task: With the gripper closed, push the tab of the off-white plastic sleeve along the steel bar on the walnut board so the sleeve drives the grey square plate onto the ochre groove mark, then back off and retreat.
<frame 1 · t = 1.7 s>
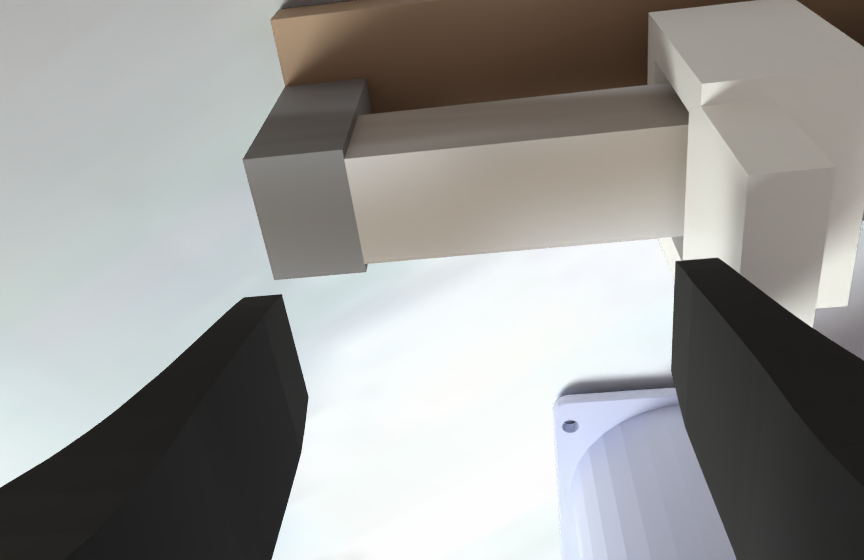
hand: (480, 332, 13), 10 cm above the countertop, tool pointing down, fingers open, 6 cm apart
sleeve: (763, 179, 16), point 6 cm above the countertop, slide at 0.0 cm
pipe board: (798, 74, 20), on the countertop
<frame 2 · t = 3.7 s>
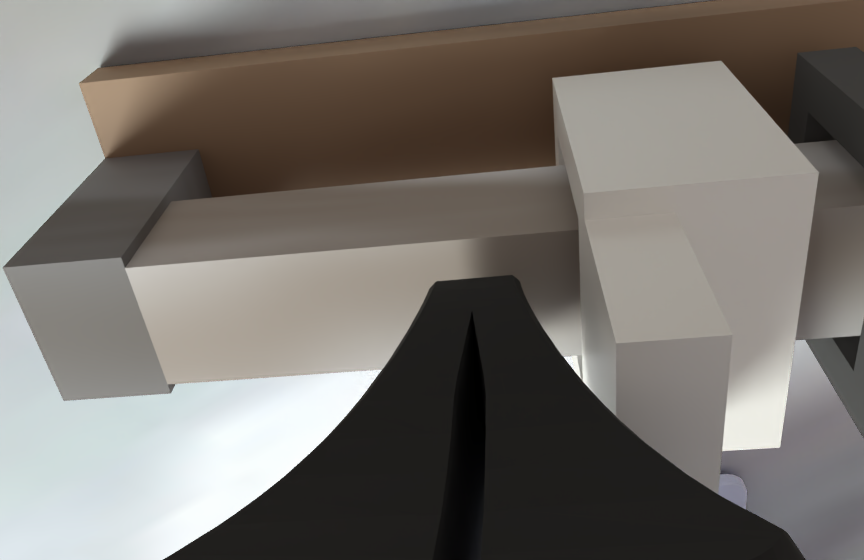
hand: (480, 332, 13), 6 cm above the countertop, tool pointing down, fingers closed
sleeve: (676, 295, 13), point 6 cm above the countertop, slide at 0.7 cm, touching gripper
pipe board: (706, 145, 17), on the countertop
grey square plate: (860, 233, 14), point 4 cm above the countertop, slide at 0.0 cm
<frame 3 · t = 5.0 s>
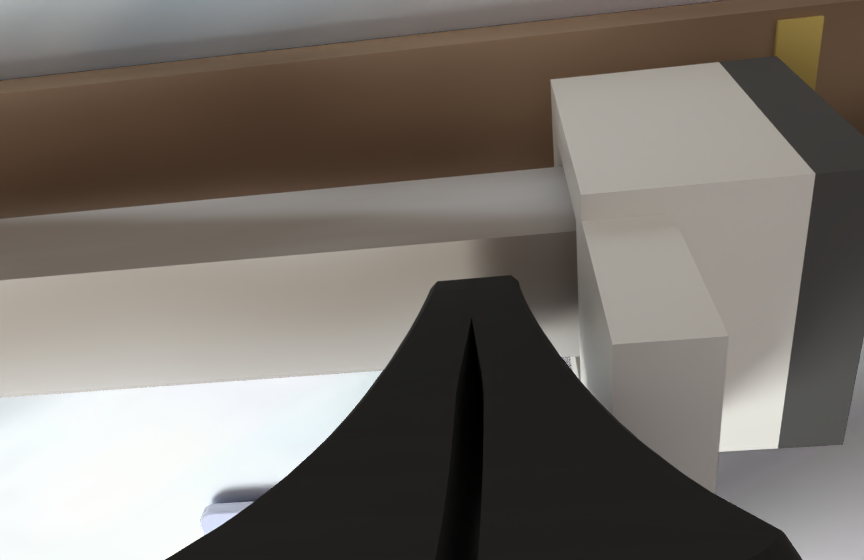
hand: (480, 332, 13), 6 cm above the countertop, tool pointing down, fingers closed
sleeve: (673, 296, 13), point 6 cm above the countertop, slide at 7.9 cm, touching gripper, grey square plate
pipe board: (371, 177, 18), on the countertop
grey square plate: (777, 241, 14), point 4 cm above the countertop, slide at 5.9 cm, touching sleeve
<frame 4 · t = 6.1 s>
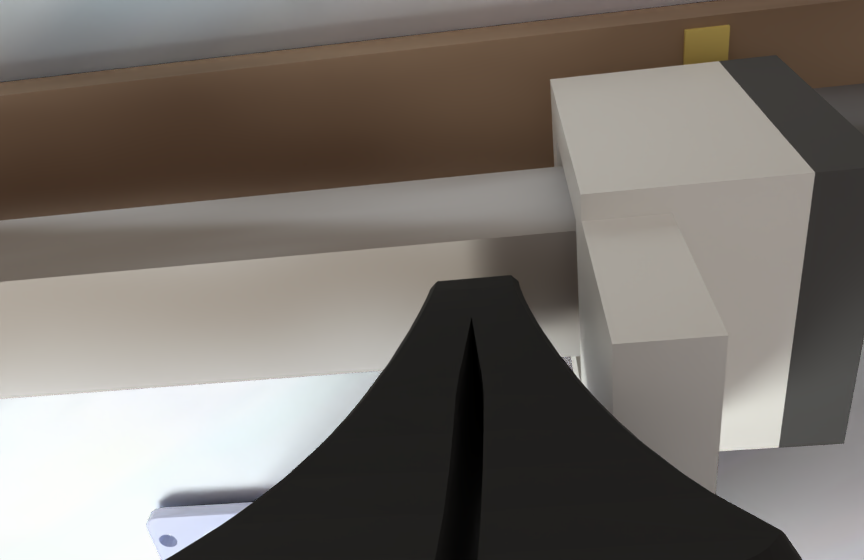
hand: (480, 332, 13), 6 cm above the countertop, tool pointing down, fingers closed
sleeve: (674, 295, 13), point 6 cm above the countertop, slide at 9.5 cm, touching gripper, grey square plate
pipe board: (298, 185, 18), on the countertop
grey square plate: (777, 240, 14), point 4 cm above the countertop, slide at 7.5 cm, touching sleeve
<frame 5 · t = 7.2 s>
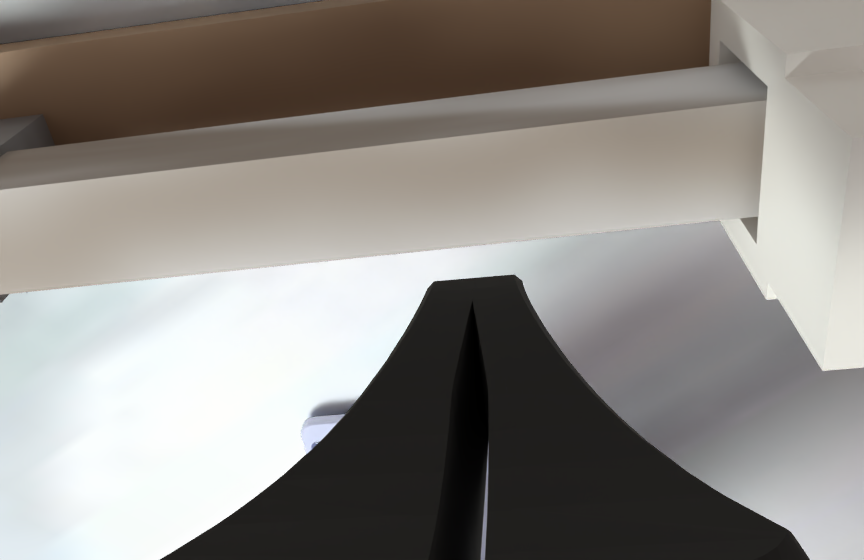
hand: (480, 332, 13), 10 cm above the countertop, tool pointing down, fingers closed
sleeve: (840, 156, 15), point 6 cm above the countertop, slide at 9.5 cm, touching grey square plate
pipe board: (467, 104, 21), on the countertop
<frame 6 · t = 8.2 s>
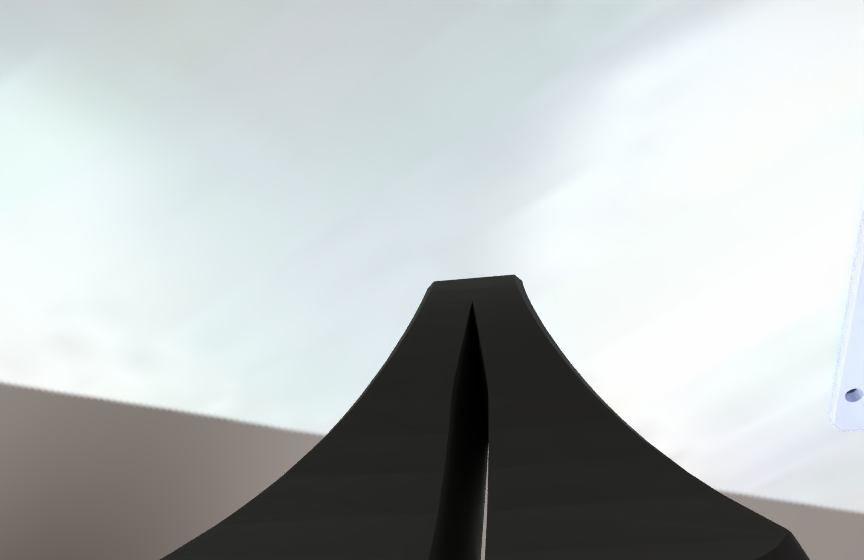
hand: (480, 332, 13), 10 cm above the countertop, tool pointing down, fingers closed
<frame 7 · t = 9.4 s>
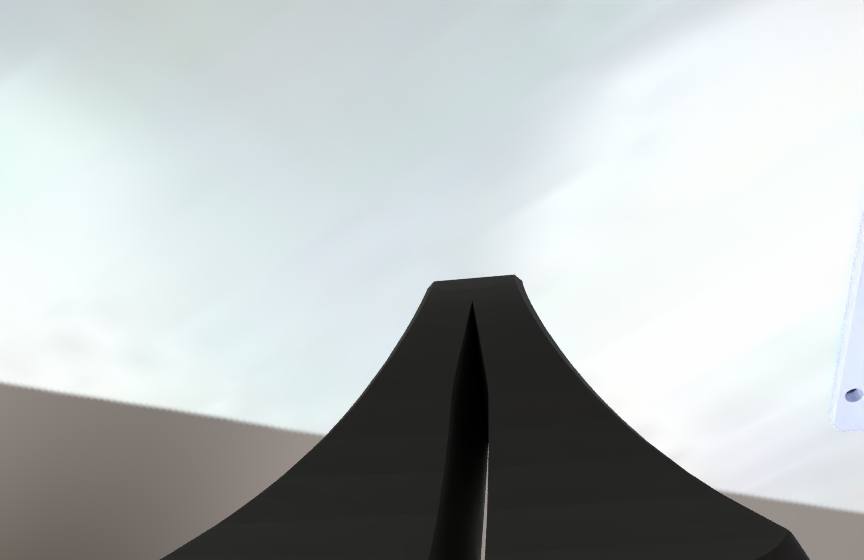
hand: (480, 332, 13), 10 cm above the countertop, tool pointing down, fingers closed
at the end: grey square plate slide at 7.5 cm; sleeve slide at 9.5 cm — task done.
